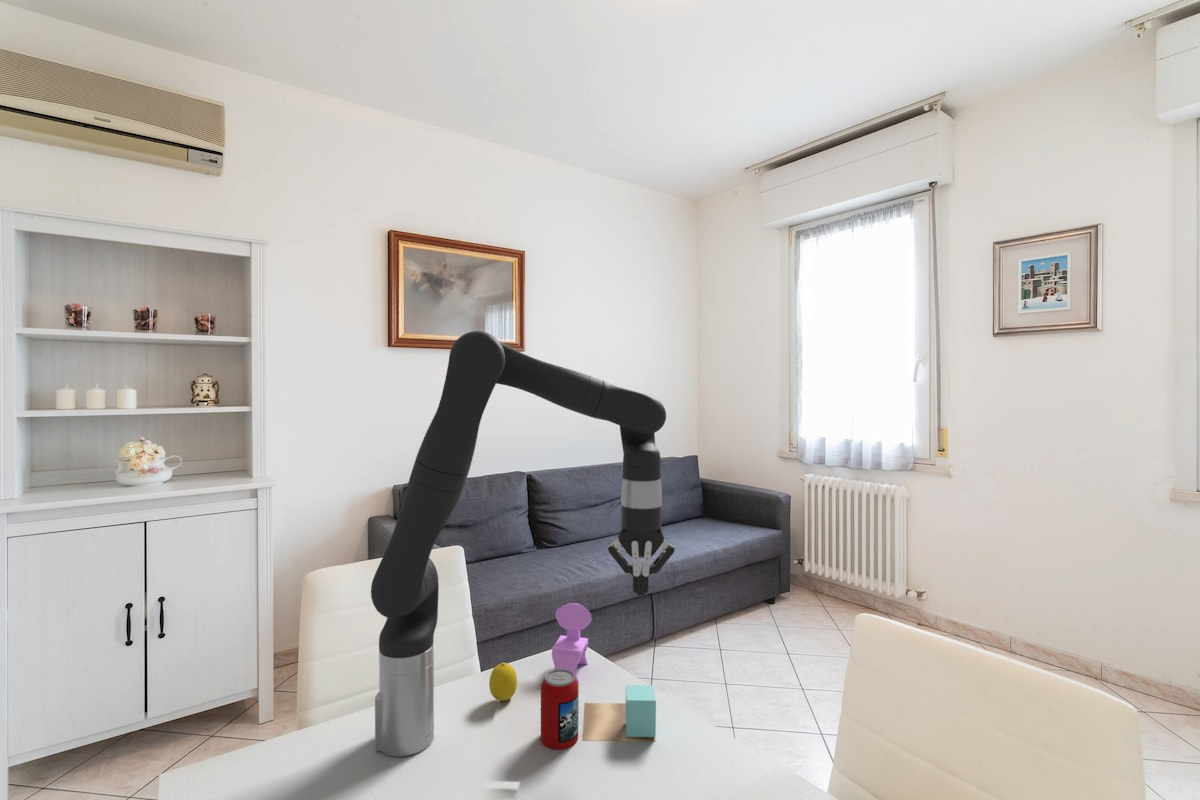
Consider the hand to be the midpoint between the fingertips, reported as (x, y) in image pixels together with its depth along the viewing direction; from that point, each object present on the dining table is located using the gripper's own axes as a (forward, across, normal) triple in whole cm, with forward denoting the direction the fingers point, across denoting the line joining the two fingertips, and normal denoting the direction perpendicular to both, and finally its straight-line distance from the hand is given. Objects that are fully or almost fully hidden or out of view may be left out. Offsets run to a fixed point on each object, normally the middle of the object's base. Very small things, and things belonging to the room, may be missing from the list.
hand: (640, 594), depth 108 cm
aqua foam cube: (+24, 0, -3) cm, 24 cm away
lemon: (+25, -27, +8) cm, 38 cm away
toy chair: (+25, -14, +18) cm, 34 cm away
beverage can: (+25, -15, -5) cm, 30 cm away
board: (+25, -4, 0) cm, 25 cm away
